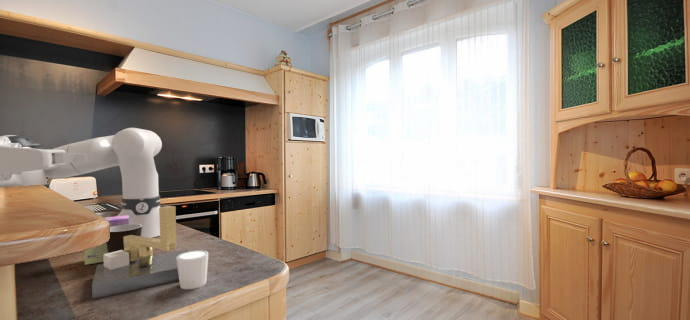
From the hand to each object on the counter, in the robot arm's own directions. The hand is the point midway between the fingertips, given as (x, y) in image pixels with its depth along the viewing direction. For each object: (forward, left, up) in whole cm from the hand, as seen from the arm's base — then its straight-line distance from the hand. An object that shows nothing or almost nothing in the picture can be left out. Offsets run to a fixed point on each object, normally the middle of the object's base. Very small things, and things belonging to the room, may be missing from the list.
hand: (86, 157), depth 70 cm
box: (-23, +2, -30) cm, 38 cm away
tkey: (0, +11, -27) cm, 29 cm away
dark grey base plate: (-1, +11, -30) cm, 32 cm away
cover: (-5, +5, -27) cm, 28 cm away
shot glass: (+10, +20, -30) cm, 37 cm away
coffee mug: (-17, +7, -30) cm, 35 cm away
